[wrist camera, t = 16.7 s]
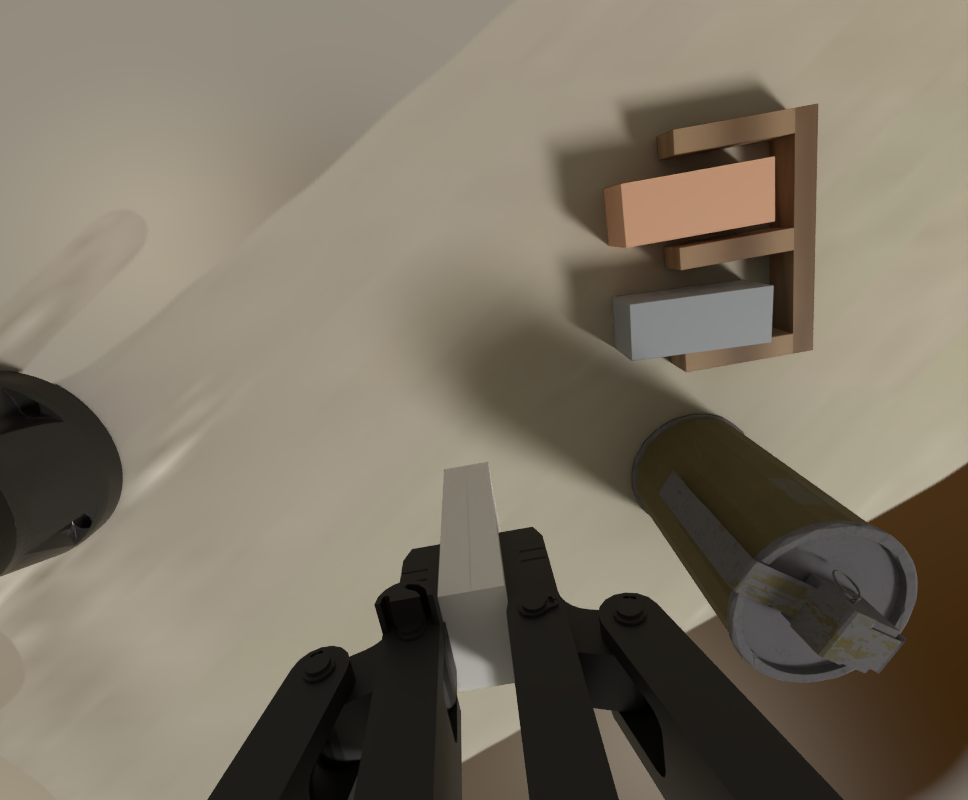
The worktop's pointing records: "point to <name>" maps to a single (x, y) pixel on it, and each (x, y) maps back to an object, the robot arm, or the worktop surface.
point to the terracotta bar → (691, 203)
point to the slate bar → (693, 319)
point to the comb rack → (783, 240)
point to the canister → (775, 553)
